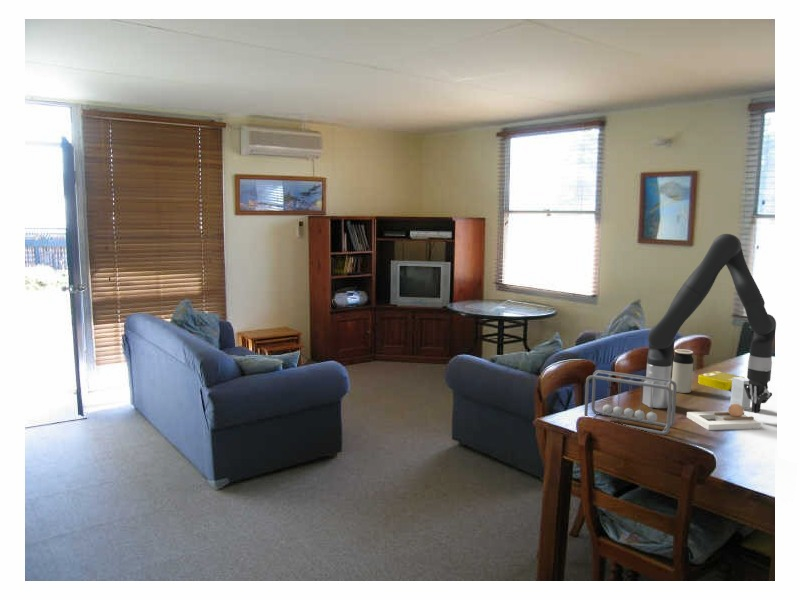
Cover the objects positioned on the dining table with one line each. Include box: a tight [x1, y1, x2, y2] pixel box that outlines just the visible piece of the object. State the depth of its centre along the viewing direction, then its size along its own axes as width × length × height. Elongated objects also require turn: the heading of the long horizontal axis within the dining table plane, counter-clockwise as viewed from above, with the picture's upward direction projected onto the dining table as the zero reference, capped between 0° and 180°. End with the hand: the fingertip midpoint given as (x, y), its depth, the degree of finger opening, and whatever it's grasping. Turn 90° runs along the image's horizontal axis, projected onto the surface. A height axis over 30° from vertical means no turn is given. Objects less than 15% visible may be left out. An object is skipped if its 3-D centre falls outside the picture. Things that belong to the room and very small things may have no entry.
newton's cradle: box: [584, 369, 677, 436], centre depth 226 cm, size 30×10×18 cm, turn 57°
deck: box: [686, 410, 761, 431], centre depth 228 cm, size 20×14×3 cm
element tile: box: [697, 370, 745, 392], centre depth 278 cm, size 15×15×5 cm
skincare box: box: [729, 376, 751, 411], centre depth 245 cm, size 6×4×12 cm
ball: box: [727, 404, 745, 417], centre depth 228 cm, size 5×5×5 cm
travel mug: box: [670, 348, 694, 394], centre depth 267 cm, size 8×8×18 cm
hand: (755, 412), depth 229 cm, fingers closed
